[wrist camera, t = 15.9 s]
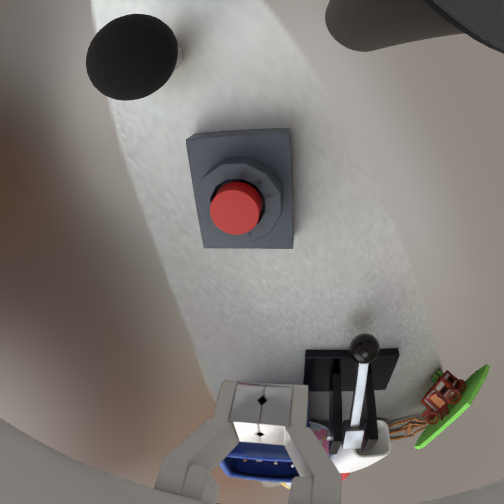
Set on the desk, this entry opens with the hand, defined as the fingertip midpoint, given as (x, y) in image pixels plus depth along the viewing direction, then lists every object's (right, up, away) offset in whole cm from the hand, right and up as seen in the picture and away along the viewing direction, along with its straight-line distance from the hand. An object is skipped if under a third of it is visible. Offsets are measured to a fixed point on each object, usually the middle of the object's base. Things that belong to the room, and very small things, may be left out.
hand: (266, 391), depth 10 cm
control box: (-1, +11, +16) cm, 20 cm away
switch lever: (+11, -10, +21) cm, 26 cm away
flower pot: (+3, -20, +36) cm, 41 cm away
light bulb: (-7, +21, +11) cm, 25 cm away
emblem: (+27, -29, +36) cm, 54 cm away
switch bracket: (+12, -10, +28) cm, 32 cm away
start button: (-2, +9, +13) cm, 16 cm away
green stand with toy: (+29, -17, +23) cm, 41 cm away
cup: (+17, -38, +41) cm, 58 cm away
